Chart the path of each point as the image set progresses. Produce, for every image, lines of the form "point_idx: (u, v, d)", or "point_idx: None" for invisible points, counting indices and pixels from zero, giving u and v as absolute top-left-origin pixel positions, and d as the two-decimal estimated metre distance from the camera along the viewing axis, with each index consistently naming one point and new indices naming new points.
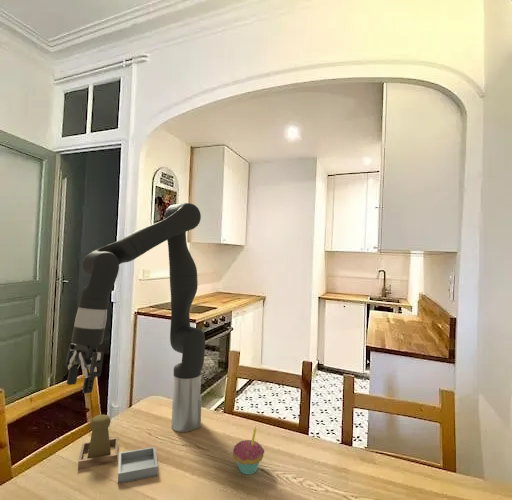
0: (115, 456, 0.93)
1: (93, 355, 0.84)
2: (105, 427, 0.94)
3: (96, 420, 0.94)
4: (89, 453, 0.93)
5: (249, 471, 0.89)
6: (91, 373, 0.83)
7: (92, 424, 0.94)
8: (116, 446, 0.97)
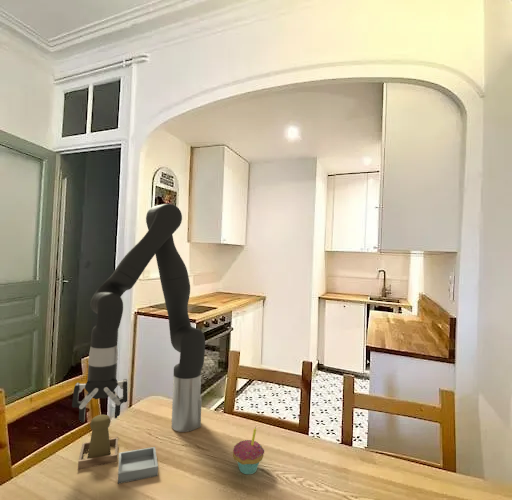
0: (115, 456, 0.93)
1: (125, 384, 0.97)
2: (105, 427, 0.94)
3: (96, 420, 0.94)
4: (89, 453, 0.93)
5: (249, 471, 0.89)
6: (126, 398, 0.97)
7: (92, 424, 0.94)
8: (116, 446, 0.97)
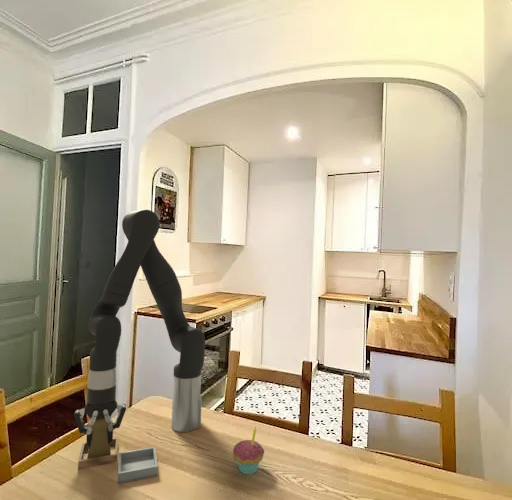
0: (115, 456, 0.93)
1: (124, 409, 0.97)
2: (105, 427, 0.94)
3: (96, 420, 0.94)
4: (89, 453, 0.93)
5: (249, 471, 0.89)
6: (118, 424, 0.96)
7: None
8: (116, 446, 0.97)
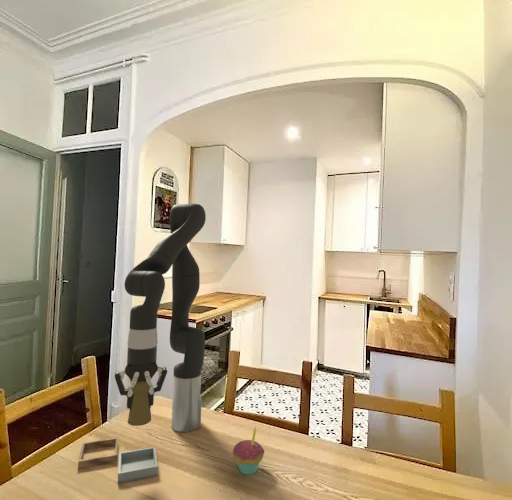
0: (115, 456, 0.93)
1: (165, 372, 0.92)
2: (146, 389, 0.89)
3: (137, 382, 0.89)
4: (130, 417, 0.89)
5: (249, 471, 0.89)
6: (159, 387, 0.92)
7: None
8: (116, 446, 0.97)
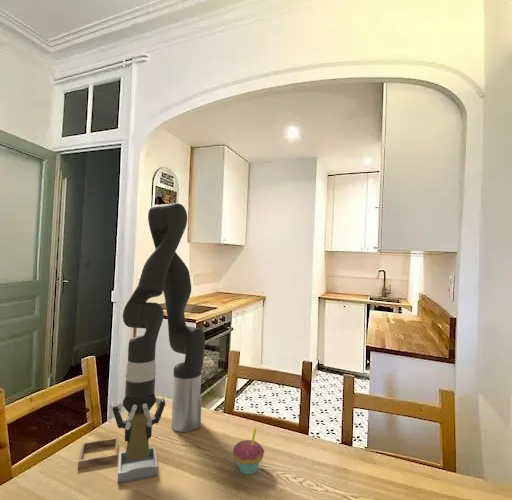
0: (115, 456, 0.93)
1: (163, 404, 0.92)
2: (144, 422, 0.89)
3: (135, 414, 0.89)
4: (128, 450, 0.88)
5: (249, 471, 0.89)
6: (157, 419, 0.91)
7: None
8: (116, 446, 0.97)
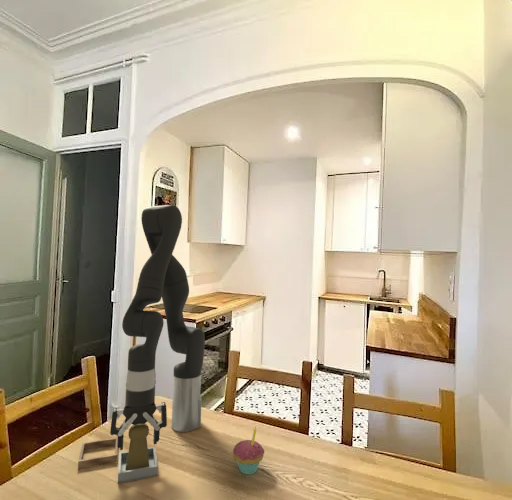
0: (115, 456, 0.93)
1: (164, 407, 0.92)
2: (144, 436, 0.89)
3: (135, 429, 0.89)
4: (128, 464, 0.88)
5: (249, 471, 0.89)
6: (165, 423, 0.92)
7: (131, 433, 0.88)
8: (116, 446, 0.97)
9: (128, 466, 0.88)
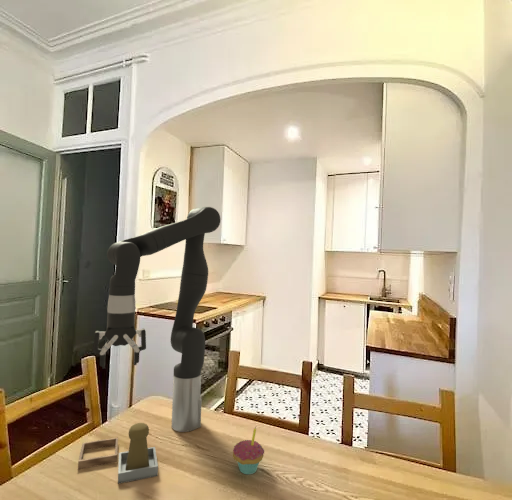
0: (115, 456, 0.93)
1: (144, 332, 1.00)
2: (144, 436, 0.89)
3: (135, 429, 0.89)
4: (128, 464, 0.88)
5: (249, 471, 0.89)
6: (145, 346, 1.00)
7: (131, 433, 0.88)
8: (116, 446, 0.97)
9: (128, 466, 0.88)
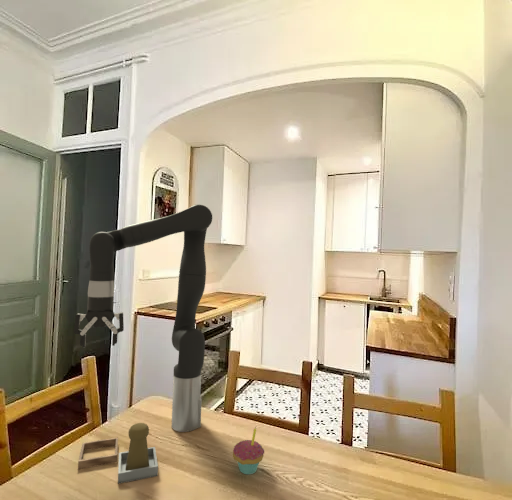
0: (115, 456, 0.93)
1: (121, 315, 1.08)
2: (144, 436, 0.89)
3: (135, 429, 0.89)
4: (128, 464, 0.88)
5: (249, 471, 0.89)
6: (122, 328, 1.08)
7: (131, 433, 0.88)
8: (116, 446, 0.97)
9: (128, 466, 0.88)
